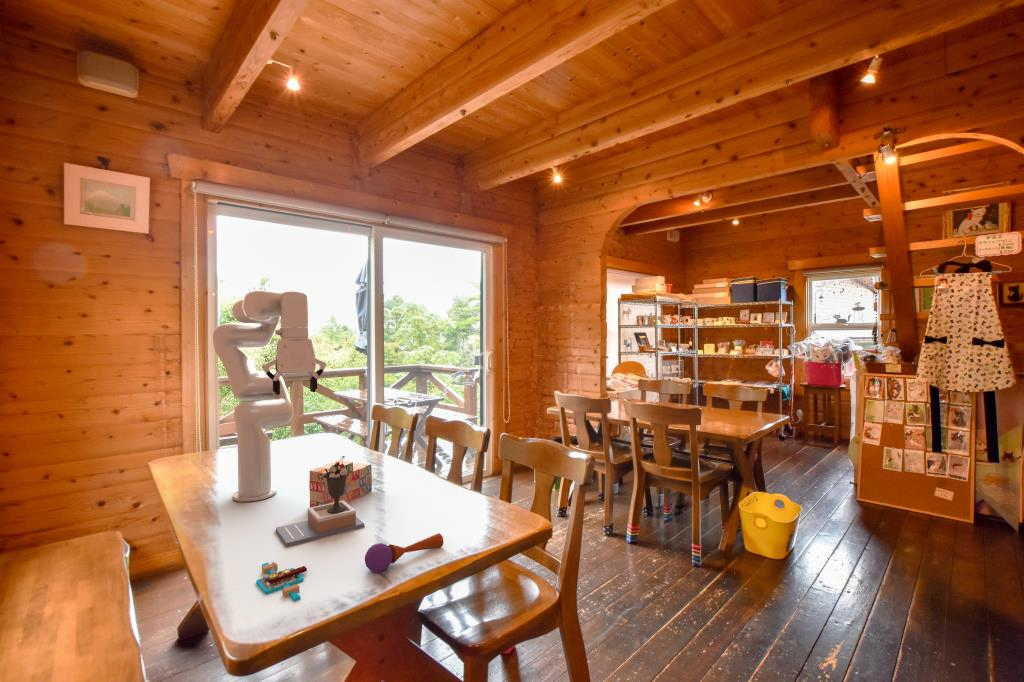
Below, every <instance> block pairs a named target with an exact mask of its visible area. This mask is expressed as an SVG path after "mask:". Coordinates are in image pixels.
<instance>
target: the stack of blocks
mask: <svg viewBox="0 0 1024 682" xmlns="http://www.w3.org/2000/svg"><path fill="white" fill-rule="evenodd" d="M336 462H339V463H340V465H341V464H342V463H343V464H344V468H345V469H346V470H347V472H348V473H349V475H348V476H347V477H346V482H345V490H344V493H343V495H342V496H340V497H339V501H343V500H344V501H345V502H346V503H347V504H348V503H349V502H351V501H353V500H355V499H358V498H359V497H362V496H364V495H366V494H368V493H370V492H372V491H373V486H372V485H373V474H372V464H371V463H365V462H364V463H363V462H355V463H354V462H353V461H345V460H340V459H339V460H335V461H332V462H330V463H327V464H325V465H321V466H318V467H316V468H312V469H310V470H309V480H308V481H309V482H308V483H309V485H308V486H309V487H308V488H309V508H311V507H315V506H320V505H324V504H329V503H334V498H333V497H331V496H330V495H329V491H328V484H327V479H326V478H323V476H324V475H325V474H326V473H327V472H326V471H325V468H326V469H327V471H328V472H329V469H330V467H331V466H332V465H335V463H336Z"/></svg>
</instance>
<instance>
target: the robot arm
mask: <svg viewBox="0 0 1024 682" xmlns="http://www.w3.org/2000/svg"><path fill="white" fill-rule="evenodd" d="M231 314H232V317H233V318H234V319H235V320H236V321H237V322H230V323H223V324H220V325H218V326H216V327H215V328H214V330H213V333H212V345H213V349H214V351H215V353H216V356H217V357H218V358H219V360H220V362H221V363H222V365H223V367H224V369H225V371H226V376H227V379H228V382H229V386H230V389H231V392H232V395H233V396H234V398H235V399H236V400H238V401H243V402H239V403H238V404H237V405H236V407H235V408H234V411H233V416H234V417H233V419H234V423H235V427H236V428H235V429H236V435H237V436H236V439H237V484H238V485H237V486H238V487H237V491H235V492H234V493H233V494H232V499H233V500H234V501H236V502H241V503H242V502H243V503H246V502H247V503H249V502H257V501H261V500H265V499H268V498H271V497H273V496H274V495H275V494H277V488H276V487H275V486H272V468H271V467H272V462H271V460H272V459H271V458H272V456H271V454H272V453H271V451H272V448H271V444H272V443H271V439H270V437H269V435H267V434H266V433H265V432H264V430H263V429H265V428H271V427H278V426H282V425H283V426H285V425H287V424H288V423H290V422H291V421H292V419H293V415H294V410H293V405H292V402H291V398H290V395H289V392H288V390H287V389H288V388H287V386H286V383H285V381H284V378H283V377H282V375H293V374H308V375H310V378H309V379H310V380H309V389H310V390H309V391H310V392H312V393H316V390H317V389H318V379H319V377H320V376H321V375H322V374H323V373H324V370H325V369H326V367H327V364H328V363H326V362H324V361H322V360H320V359H319V358H316V355H315V354H316V353H315V345H314V341H313V338H310V295H309V294H308V293H307V292H305V291H298V290H289V291H288V290H286V291H271V290H256V291H251V292H250V291H249V292H247V293H246V294H245V296H244V298H241V299H239V300H237V301H236V302H235V303H234V304H233V305H232V307H231ZM279 323H280V328H279V329H277V327H278V326H279ZM274 335H276V336H279V338H278V339H277V344H276V350H275V358H274V359H272V360H270V361H268V362H267V363H265V364H262V366H261V369H262V370H263V371H259V370H257V369H256V367H255V364H254V362H253V360H252V358H251V357H250V356H249V355H248V354H246V352H244V351H243V350H241V349H239V348H263V347H267V346H268V345H269V344H270V343H271V341H272V339H273V337H274ZM316 365H318V366H319V368H318V369H317V366H316ZM273 366H275V368H274V369H275V371H273V370H271V369H270V368H271V367H273ZM316 369H317V370H316Z"/></svg>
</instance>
